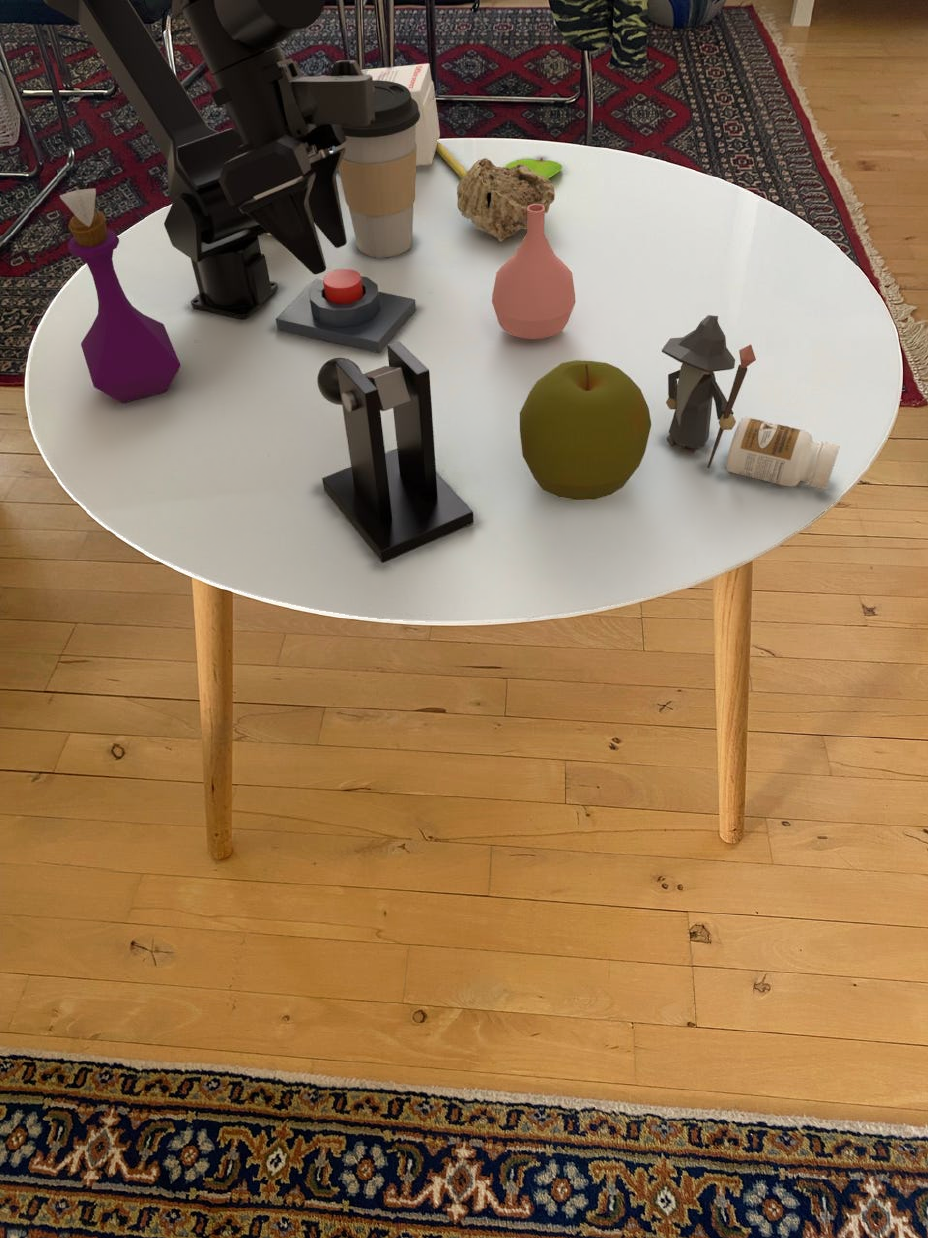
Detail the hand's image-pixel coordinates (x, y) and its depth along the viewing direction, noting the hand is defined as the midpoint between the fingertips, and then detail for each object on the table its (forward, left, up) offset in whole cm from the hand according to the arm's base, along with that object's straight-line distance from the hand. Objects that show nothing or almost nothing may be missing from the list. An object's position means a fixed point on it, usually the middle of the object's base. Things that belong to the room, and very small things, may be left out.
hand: (331, 258), depth 84 cm
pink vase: (+14, +11, -10) cm, 21 cm away
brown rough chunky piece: (+4, +29, -10) cm, 31 cm away
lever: (+11, -14, -3) cm, 18 cm away
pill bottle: (+36, -2, -8) cm, 37 cm away
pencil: (-8, +40, -9) cm, 42 cm away
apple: (+26, -8, -10) cm, 29 cm away
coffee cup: (-7, +21, -10) cm, 24 cm away
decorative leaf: (+3, +43, -12) cm, 44 cm away
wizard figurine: (+33, -1, -10) cm, 35 cm away
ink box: (-22, +38, -6) cm, 44 cm away
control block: (-3, +6, -10) cm, 12 cm away
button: (-3, +6, -7) cm, 10 cm away
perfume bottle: (-16, -10, -10) cm, 21 cm away
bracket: (+13, -16, -10) cm, 23 cm away
